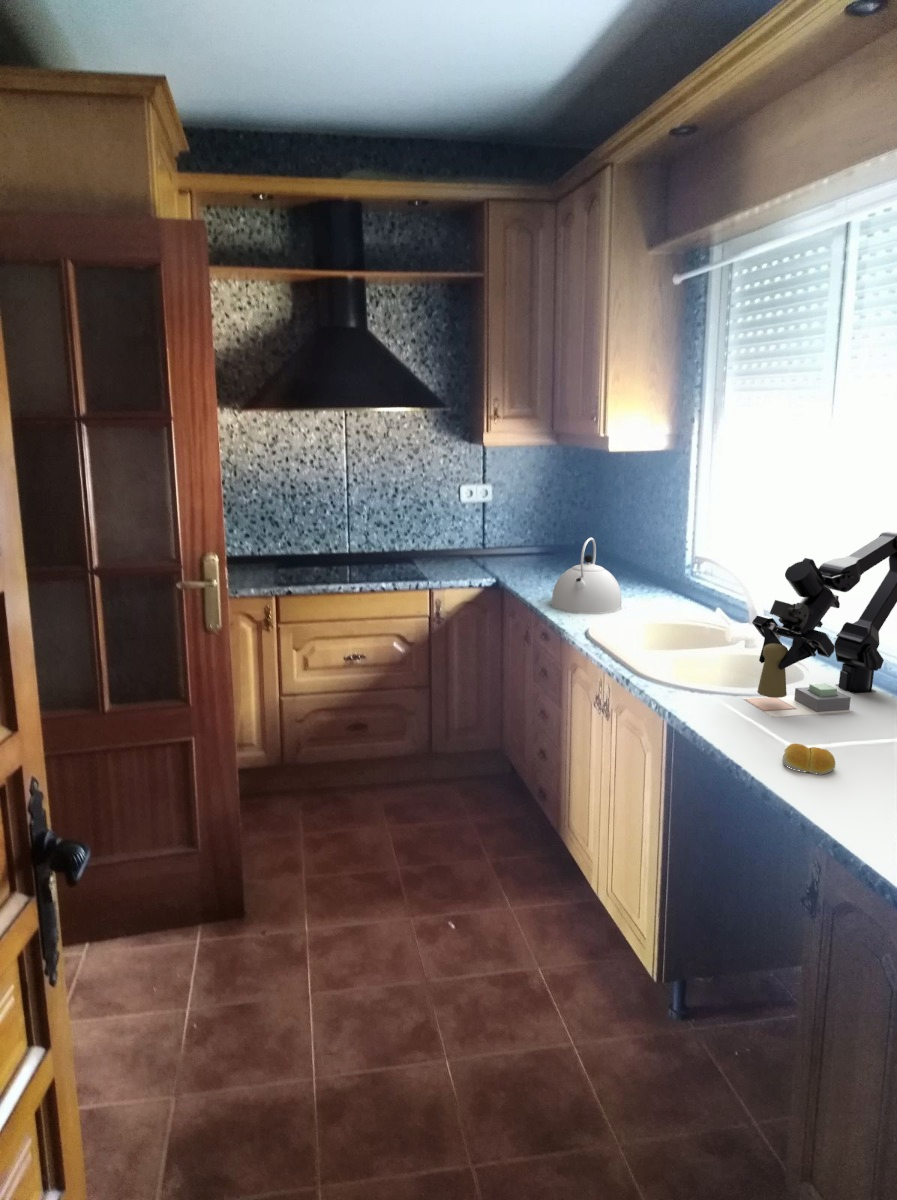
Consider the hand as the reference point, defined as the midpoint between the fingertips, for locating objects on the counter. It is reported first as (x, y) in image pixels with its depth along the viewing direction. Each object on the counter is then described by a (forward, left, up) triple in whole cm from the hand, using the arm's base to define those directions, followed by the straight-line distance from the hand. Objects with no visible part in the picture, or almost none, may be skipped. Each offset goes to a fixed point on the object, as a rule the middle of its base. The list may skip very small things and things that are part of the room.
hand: (769, 665), depth 190 cm
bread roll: (+11, +30, -10) cm, 34 cm away
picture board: (-7, +1, -10) cm, 12 cm away
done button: (-12, +2, -7) cm, 14 cm away
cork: (-1, 0, -7) cm, 7 cm away
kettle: (+3, -100, -10) cm, 101 cm away
